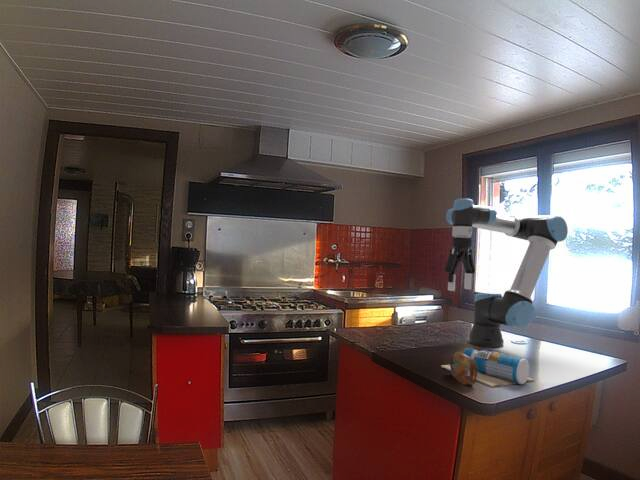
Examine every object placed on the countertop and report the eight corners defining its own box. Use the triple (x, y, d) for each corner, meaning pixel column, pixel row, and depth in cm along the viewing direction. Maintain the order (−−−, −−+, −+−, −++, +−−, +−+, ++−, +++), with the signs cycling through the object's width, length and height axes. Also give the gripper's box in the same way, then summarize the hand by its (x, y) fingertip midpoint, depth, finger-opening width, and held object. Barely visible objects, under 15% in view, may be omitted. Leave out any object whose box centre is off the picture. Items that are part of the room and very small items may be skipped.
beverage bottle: (517, 385, 132) (458, 368, 147) (528, 385, 138) (471, 370, 153) (520, 357, 133) (462, 344, 148) (531, 359, 139) (474, 346, 154)
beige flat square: (480, 362, 160) (481, 361, 160) (534, 381, 140) (534, 379, 140) (441, 367, 150) (441, 365, 150) (492, 387, 131) (492, 385, 131)
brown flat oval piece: (448, 373, 143) (450, 348, 144) (457, 373, 144) (459, 348, 144) (468, 388, 128) (469, 360, 129) (478, 389, 129) (479, 361, 129)
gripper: (455, 236, 160) (452, 292, 159) (484, 238, 177) (482, 289, 177) (437, 235, 165) (435, 290, 165) (467, 238, 182) (465, 287, 182)
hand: (459, 290), depth 171 cm, fingers open, 13 cm apart
